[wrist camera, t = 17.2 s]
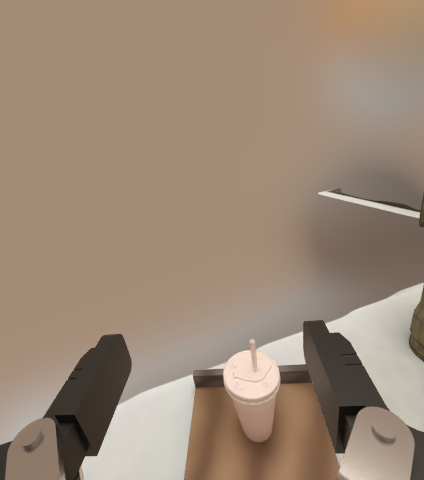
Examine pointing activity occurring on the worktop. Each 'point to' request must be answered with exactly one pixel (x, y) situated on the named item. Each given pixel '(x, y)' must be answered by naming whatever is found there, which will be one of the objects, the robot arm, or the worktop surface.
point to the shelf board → (269, 451)
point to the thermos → (418, 315)
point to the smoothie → (253, 390)
